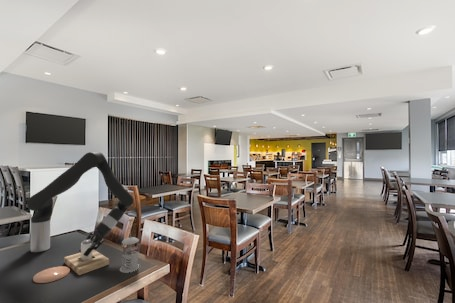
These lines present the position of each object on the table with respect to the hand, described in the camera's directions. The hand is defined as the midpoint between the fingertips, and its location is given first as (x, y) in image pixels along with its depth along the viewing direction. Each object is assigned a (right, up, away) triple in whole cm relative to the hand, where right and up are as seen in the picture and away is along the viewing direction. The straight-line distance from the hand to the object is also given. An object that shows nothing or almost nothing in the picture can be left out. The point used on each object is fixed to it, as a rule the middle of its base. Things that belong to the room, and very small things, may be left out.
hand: (82, 253), depth 122 cm
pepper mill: (+1, -6, +1) cm, 6 cm away
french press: (+25, -6, -2) cm, 26 cm away
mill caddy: (+1, -6, +1) cm, 6 cm away
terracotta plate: (-8, -6, -10) cm, 14 cm away
